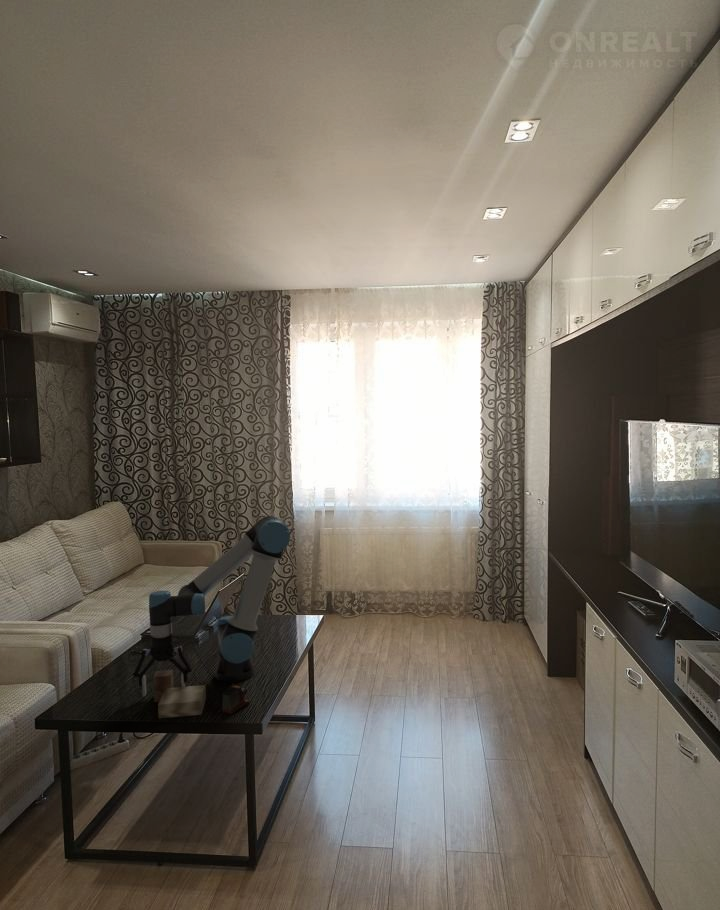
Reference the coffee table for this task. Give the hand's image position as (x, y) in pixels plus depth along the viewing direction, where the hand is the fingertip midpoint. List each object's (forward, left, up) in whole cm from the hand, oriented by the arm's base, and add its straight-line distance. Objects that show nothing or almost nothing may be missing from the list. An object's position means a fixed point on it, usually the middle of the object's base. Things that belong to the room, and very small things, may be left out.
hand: (164, 693), depth 231 cm
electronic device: (-27, +14, -2) cm, 30 cm away
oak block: (-8, +10, -2) cm, 13 cm away
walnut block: (0, 0, -2) cm, 2 cm away
